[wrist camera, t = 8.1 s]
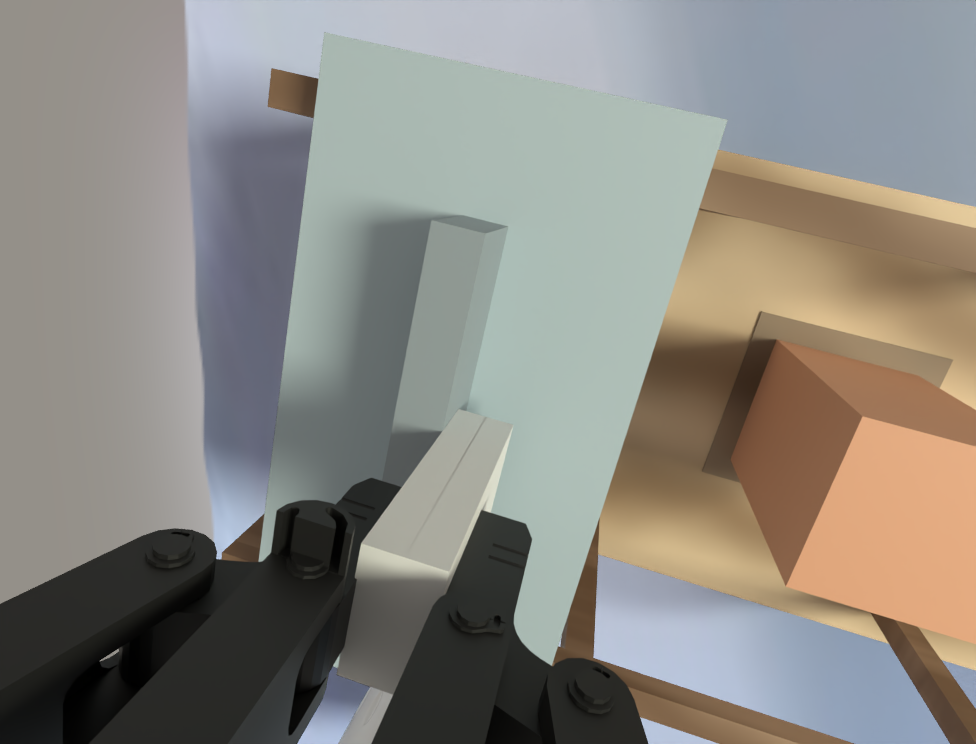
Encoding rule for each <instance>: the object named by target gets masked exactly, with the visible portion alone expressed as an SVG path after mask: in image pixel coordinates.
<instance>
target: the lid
mask: <svg viewBox="0 0 976 744" xmlns="http://www.w3.org/2000/svg"><path fill="white" fill-rule="evenodd" d="M726 123H727V120H726V119H721V118H716V117H712V116H707V115H703V114H698V113H693V112H689V111H684V110H680V109H675V108H670V107H666V106H661V105H657V104H652V103H647V102H643V101H638V100H634V99H629V98H624V97H620V96H615V95H610V94H606V93H601V92H597V91H592V90H587V89H583V88H578V87H574V86H569V85H564V84H560V83H555V82H551V81H546V80H541V79H537V78H532V77H528V76H523V75H518V74H514V73H509V72H505V71H500V70H495V69H491V68H486V67H481V66H477V65H472V64H468V63H463V62H458V61H454V60H449V59H445V58H440V57H435V56H431V55H426V54H422V53H417V52H412V51H408V50H403V49H399V48H394V47H389V46H385V45H380V44H376V43H371V42H366V41H362V40H357V39H352V38H348V37H343V36H339V35H334V34H329V33H325V32H324V40H323V48H322V56H321V64H320V72H319V80H318V88H317V96H316V104H315V112H314V120H313V128H312V136H311V144H310V152H309V160H308V168H307V176H306V184H305V192H304V200H303V208H302V216H301V224H300V232H299V241H298V249H297V257H296V265H295V273H294V281H293V289H292V297H291V305H290V313H289V321H288V329H287V337H286V345H285V353H284V361H283V369H282V377H281V385H280V393H279V401H278V409H277V417H276V425H275V433H274V441H273V449H272V457H271V465H270V473H269V482H268V490H267V498H266V506H265V514H264V522H263V530H262V538H261V546H260V554H259V562H261V561H263V560H264V559H265V558H266V557H267V556H268V555H269V554H270V553H271V548H272V541H273V533H274V526H275V518H276V511H277V510H278V509H279V508H281V507H283V506H284V505H286V504H288V503H292V502H296V501H300V500H319V501H324V502H329V503H333V504H335V505H336V504H337V502H338V501H339V500H341V499H342V497H343V496H344V495H345V493H346V492H347V491H348V490H349V489H350V488H351V487H352V486H353V485H355V484H357V483H359V482H362V481H364V480H366V479H369V478H374V479H378V480H381V481H384V482H387V483H390V484H394V485H397V486H400V487H402V486H403V485H404V484H405V482H406V481H407V480H408V478H409V477H410V475H411V474H412V473H413V471H414V470H415V468H416V467H417V466H418V464H419V463H420V462H421V460H422V459H423V457H424V456H425V455H426V453H427V452H428V451H429V449H430V448H431V446H432V445H433V444H434V442H435V441H436V440H437V438H438V437H439V435H440V434H441V433H442V431H443V430H444V429H445V427H446V426H447V424H448V423H449V422H450V420H451V419H452V418H453V416H454V415H455V413H456V412H457V411H458V409H461V410H464V411H468V412H471V413H474V414H478V415H481V416H485V417H488V418H492V419H495V420H499V421H502V422H506V423H509V424H512V425H513V429H512V433H511V437H510V441H509V444H508V448H507V452H506V456H505V460H504V464H503V467H502V471H501V475H500V479H499V483H498V487H497V490H496V494H495V498H494V502H493V506H492V510H491V513H493V514H497V515H500V516H503V517H506V518H509V519H513V520H516V521H519V522H522V523H526V525H527V528H528V530H529V532H530V535H531V537H532V543H531V547H530V551H529V555H528V559H527V564H526V568H525V572H524V576H523V580H522V584H521V589H520V593H519V597H518V601H517V605H516V610H515V614H514V626H515V630H516V633H517V635H518V636H519V638H520V640H521V641H522V643H523V644H524V645H525V646H526V647H527V648H528V649H529V650H530V651H531V652H532V653H534V654H535V655H536V656H538V657H539V658H540V659H542V660H543V661H545V662H547V663H548V664H550V665H551V666H552V663H553V660H554V657H555V654H556V651H557V648H558V645H559V642H560V639H561V635H562V632H563V629H564V626H565V623H566V620H567V617H568V614H569V611H570V608H571V604H572V601H573V598H574V595H575V592H576V589H577V586H578V583H579V580H580V576H581V573H582V570H583V567H584V564H585V561H586V558H587V555H588V552H589V549H590V545H591V542H592V539H593V536H594V533H595V530H596V527H597V524H598V521H599V518H600V514H601V511H602V508H603V505H604V502H605V499H606V496H607V493H608V490H609V486H610V483H611V480H612V477H613V474H614V471H615V468H616V465H617V462H618V459H619V455H620V452H621V449H622V446H623V443H624V440H625V437H626V434H627V431H628V428H629V424H630V421H631V418H632V415H633V412H634V409H635V406H636V403H637V400H638V396H639V393H640V390H641V387H642V384H643V381H644V378H645V375H646V372H647V369H648V365H649V362H650V359H651V356H652V353H653V350H654V347H655V344H656V341H657V338H658V334H659V331H660V328H661V325H662V322H663V319H664V316H665V313H666V310H667V306H668V303H669V300H670V297H671V294H672V291H673V288H674V285H675V282H676V279H677V275H678V272H679V269H680V266H681V263H682V260H683V257H684V254H685V251H686V248H687V244H688V241H689V238H690V235H691V232H692V229H693V226H694V223H695V220H696V216H697V213H698V210H699V207H700V204H701V201H702V198H703V195H704V192H705V189H706V185H707V182H708V179H709V176H710V173H711V170H712V167H713V164H714V161H715V158H716V154H717V151H718V148H719V145H720V142H721V139H722V136H723V133H724V130H725V127H726ZM339 659H340V655H339V657H338V658H337V660H336V662H335V663H334V665H333V667H336V668H338V664H339Z"/></svg>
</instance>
